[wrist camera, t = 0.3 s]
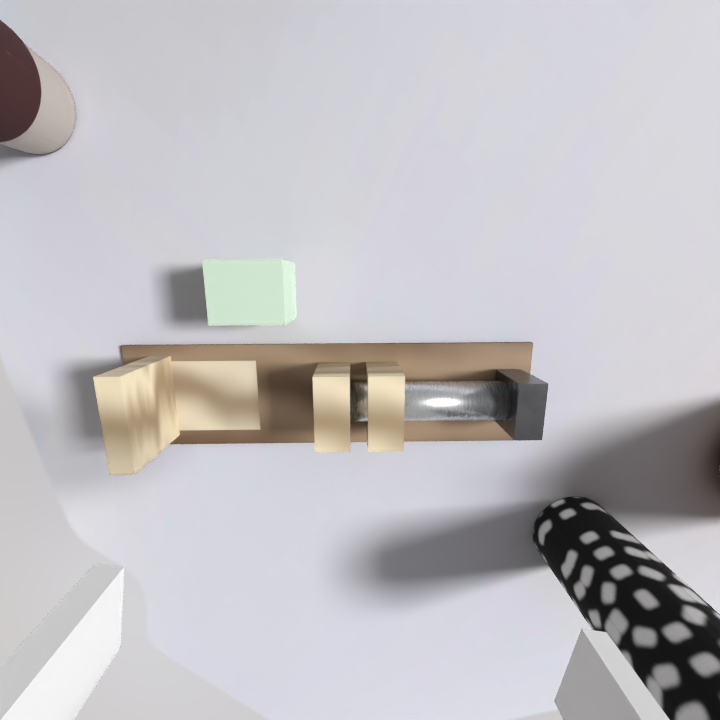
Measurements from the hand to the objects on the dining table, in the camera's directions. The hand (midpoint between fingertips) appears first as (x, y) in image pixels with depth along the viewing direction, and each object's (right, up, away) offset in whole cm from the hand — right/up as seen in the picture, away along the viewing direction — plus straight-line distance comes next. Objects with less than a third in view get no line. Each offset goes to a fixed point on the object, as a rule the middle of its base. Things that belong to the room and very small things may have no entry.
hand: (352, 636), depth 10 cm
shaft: (+6, +5, +25) cm, 26 cm away
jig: (-3, +5, +25) cm, 26 cm away
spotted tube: (+23, -11, +29) cm, 39 cm away
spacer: (-9, +14, +23) cm, 29 cm away
